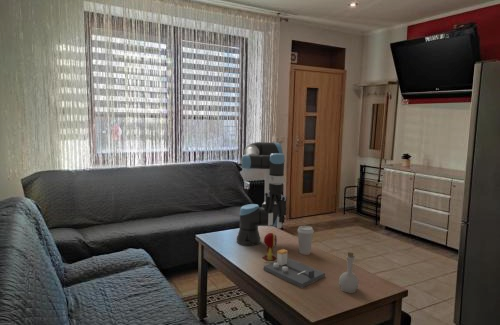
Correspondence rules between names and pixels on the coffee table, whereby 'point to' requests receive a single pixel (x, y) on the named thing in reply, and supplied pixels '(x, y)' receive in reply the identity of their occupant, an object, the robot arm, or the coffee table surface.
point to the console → (295, 272)
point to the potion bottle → (349, 277)
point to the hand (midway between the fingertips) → (274, 226)
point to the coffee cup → (305, 239)
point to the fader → (282, 257)
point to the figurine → (270, 248)
